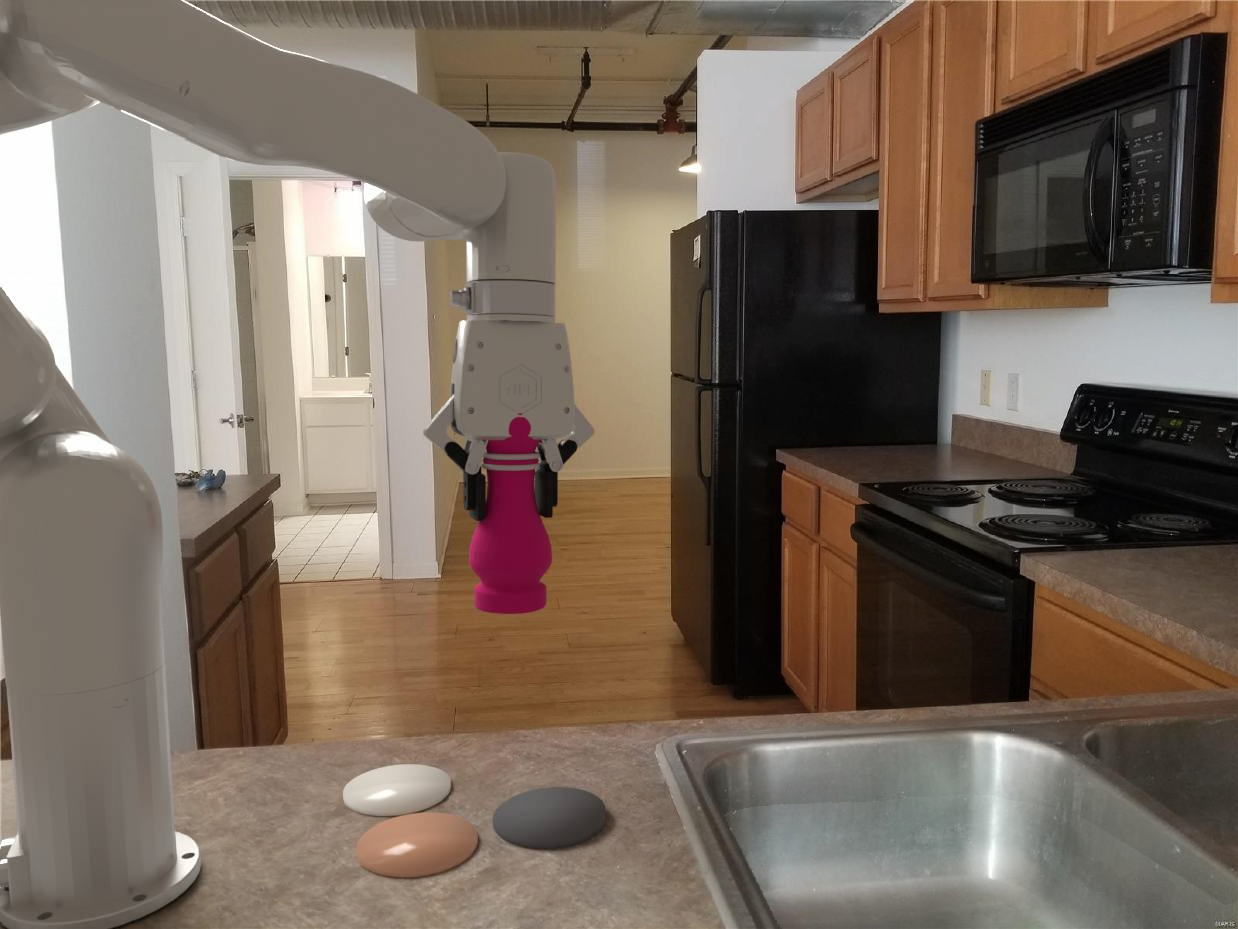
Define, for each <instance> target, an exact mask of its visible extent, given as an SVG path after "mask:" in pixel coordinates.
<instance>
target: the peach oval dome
mask: <svg viewBox="0 0 1238 929" xmlns="http://www.w3.org/2000/svg"><path fill="white" fill-rule="evenodd" d="M478 836H479V835H478V831H477V829H476V827H475V825H473V824H472V822H471V821H468V820H467V819H466V818H463V817H460V816H458V815H455V814H450V813H445V812H414V813H409V814H404V815H398V816H396V817H395V816H394V817H392V818H389V819H386V820H384V821H382V822H379V823H378V824H376V825H374V826H372V827H370V828H369V829H368V830H367V831H365V832H364V833H363V834H362V835H361V836H360V838H359V839H358V841H357V843H356V849H355V850H356V851H355V852H356V858H357V861H358V863H359V864H360V865H361V867H363V868H365V869H366V870H368V871H370V872H372V873H373V874H377V875H380V876H384V877H389V878H390V877H392V878H418V877H419V878H420V877H425V876H430V875H435V874H438V873H442V872H444V871H447V870H449V869H451V868H454V867H456V866H458V865H460V864H462V863H464V861H466V860H467V859H468V858H470V856H471V855H473V853H474V852H475V850H476V848H477V846H478Z"/></svg>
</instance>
